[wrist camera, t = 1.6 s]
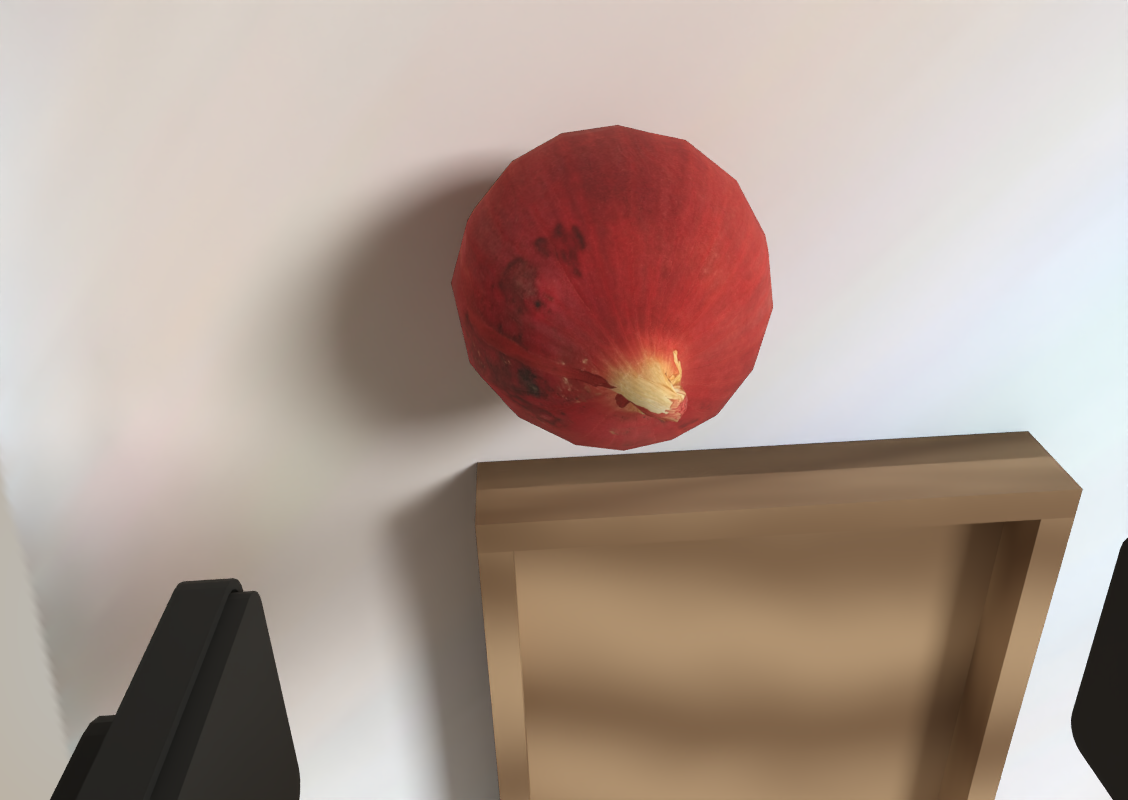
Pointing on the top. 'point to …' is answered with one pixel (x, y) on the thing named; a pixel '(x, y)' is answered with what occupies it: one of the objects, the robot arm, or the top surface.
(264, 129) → the top surface
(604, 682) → the walnut tray
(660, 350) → the onion
